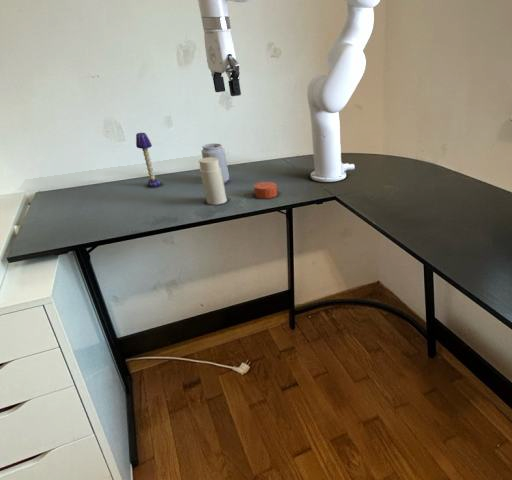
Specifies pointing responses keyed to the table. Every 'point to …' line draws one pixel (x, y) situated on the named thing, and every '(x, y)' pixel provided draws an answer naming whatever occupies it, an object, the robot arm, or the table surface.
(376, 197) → the table surface
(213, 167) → the jar
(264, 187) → the jar lid
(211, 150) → the can
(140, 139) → the toy lamp
